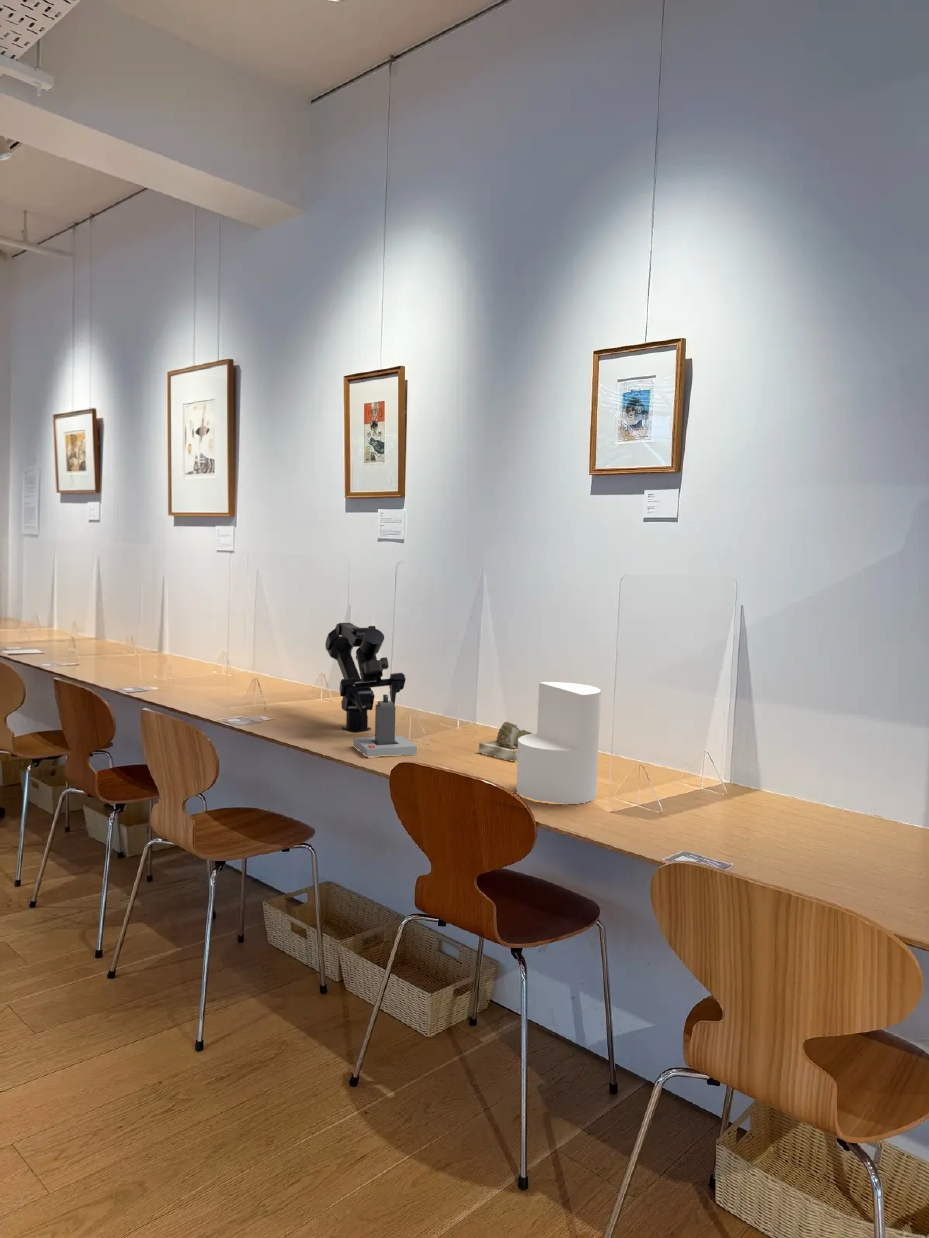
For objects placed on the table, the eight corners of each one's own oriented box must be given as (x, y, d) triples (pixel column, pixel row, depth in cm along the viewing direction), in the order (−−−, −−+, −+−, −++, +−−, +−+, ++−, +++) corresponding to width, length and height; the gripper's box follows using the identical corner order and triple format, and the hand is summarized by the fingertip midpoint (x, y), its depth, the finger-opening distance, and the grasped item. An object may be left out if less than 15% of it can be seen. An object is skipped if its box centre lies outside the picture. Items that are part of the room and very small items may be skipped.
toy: (553, 740, 252) (509, 723, 261) (542, 735, 247) (498, 718, 256) (543, 765, 252) (500, 747, 260) (532, 760, 246) (488, 742, 255)
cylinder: (572, 780, 225) (576, 681, 223) (611, 801, 208) (616, 693, 206) (503, 786, 218) (506, 683, 216) (537, 808, 201) (541, 696, 199)
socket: (353, 746, 255) (353, 736, 255) (400, 744, 260) (401, 733, 260) (366, 758, 242) (367, 747, 242) (416, 755, 247) (416, 744, 247)
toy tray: (478, 753, 251) (479, 743, 251) (527, 742, 266) (528, 733, 266) (514, 762, 242) (514, 751, 242) (563, 750, 257) (563, 740, 257)
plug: (374, 747, 252) (375, 693, 251) (390, 746, 254) (391, 693, 253) (378, 750, 248) (379, 696, 247) (394, 749, 250) (395, 696, 248)
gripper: (338, 651, 258) (347, 698, 250) (402, 645, 264) (413, 691, 255) (335, 672, 267) (344, 718, 259) (397, 666, 272) (408, 711, 264)
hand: (377, 709), depth 259 cm, fingers open, 9 cm apart
